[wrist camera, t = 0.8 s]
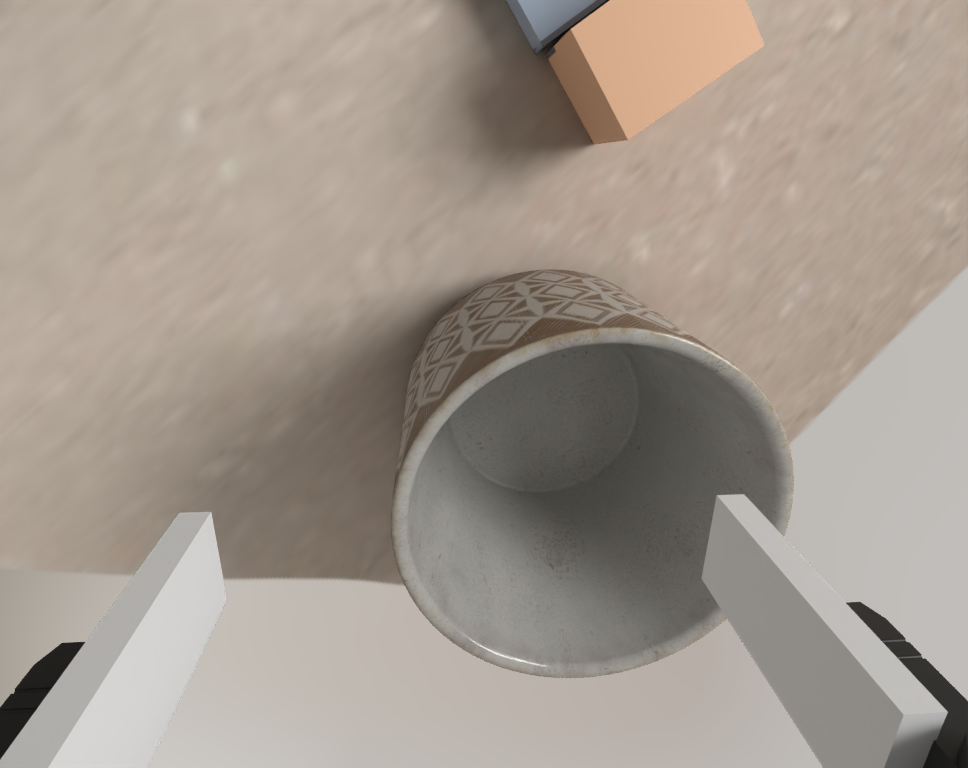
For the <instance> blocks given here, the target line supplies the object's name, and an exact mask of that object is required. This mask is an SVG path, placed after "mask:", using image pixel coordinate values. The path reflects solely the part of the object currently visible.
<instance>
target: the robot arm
mask: <svg viewBox="0 0 968 768" xmlns="http://www.w3.org/2000/svg"><path fill="white" fill-rule="evenodd" d="M701 579H702V580H703V582H704V583H705V585H706V586H707V588H708V590H709V591H710V593H711V594H712V596H713V597H714V599H715V600H716V602H717V604H718V605H719V607H720V608H721V610H722V611H723V613H724V614H725V616H726V618H727V619H728V621H729V622H730V624H731V625H732V627H733V628H734V630H735V631H736V633H737V635H738V636H739V638H740V639H741V641H742V642H743V643H744V645H745V647H746V649H747V650H748V652H749V653H750V655H751V656H752V658H753V659H754V661H755V663H756V664H757V666H758V667H759V669H760V670H761V672H762V673H763V675H764V676H765V678H766V680H767V681H768V683H769V684H770V686H771V687H772V689H773V690H774V692H775V694H776V695H777V697H778V698H779V700H780V701H781V703H782V704H783V706H784V708H785V709H786V711H787V712H788V714H789V715H790V717H791V718H792V720H793V722H794V723H795V724H796V726H797V728H798V729H799V731H800V732H801V734H802V735H803V737H804V739H805V740H806V742H807V743H808V745H809V746H810V748H811V750H812V751H813V752H814V754H815V756H816V757H817V759H818V760H819V762H820V763H821V765H822V767H823V768H968V701H967V700H966V699H965V698H964V697H963V696H962V695H961V694H960V693H959V692H958V691H957V690H956V689H955V688H954V687H953V686H952V685H951V684H950V683H949V682H948V681H947V680H946V679H945V678H944V677H943V676H942V675H941V674H940V673H939V672H938V671H937V670H936V669H935V668H934V667H933V666H932V665H931V664H930V663H929V662H928V661H927V660H926V659H923V658H922V656H921V654H920V653H919V652H918V651H917V650H916V649H915V648H914V647H913V646H912V645H911V644H910V643H909V642H906V641H905V638H904V636H903V635H902V634H900V632H899V631H897V629H896V628H894V626H893V625H892V624H890V622H889V621H888V620H886V618H884V617H882V616H881V615H879V614H878V613H876V612H874V611H873V610H872V609H870V608H869V607H867V606H865V605H864V604H862V603H861V602H851V603H845V602H844V601H843V600H842V598H841V597H840V596H839V595H838V594H837V593H836V592H835V591H834V590H833V589H832V588H831V587H830V586H829V584H828V583H826V581H825V580H824V579H823V578H822V577H821V576H820V575H819V574H818V573H817V572H816V571H815V570H814V568H813V567H812V566H811V565H810V564H809V563H808V562H807V561H806V560H805V559H804V558H803V557H802V556H801V555H800V553H799V552H798V551H797V550H796V549H795V548H794V547H793V546H792V545H791V544H790V543H789V542H788V541H787V540H786V539H785V538H784V536H783V535H782V534H781V533H780V532H779V531H778V530H777V529H776V528H775V527H774V526H773V525H772V524H771V523H770V521H769V520H768V519H767V518H766V517H765V516H764V515H763V514H762V513H761V512H760V511H759V510H758V509H757V508H756V506H755V505H754V504H753V503H752V502H751V501H750V500H749V499H748V498H747V497H746V496H745V495H744V494H736V495H717V496H716V502H715V507H714V512H713V518H712V523H711V529H710V534H709V540H708V545H707V551H706V556H705V562H704V567H703V573H702V578H701ZM226 601H227V597H226V591H225V586H224V580H223V574H222V569H221V563H220V558H219V552H218V547H217V541H216V536H215V530H214V525H213V519H212V514H211V512H187V513H179V514H178V515H177V517H176V518H175V519H174V521H173V522H172V524H171V525H170V526H169V528H168V529H167V530H166V532H165V533H164V535H163V536H162V537H161V539H160V540H159V541H158V543H157V544H156V546H155V547H154V548H153V550H152V551H151V553H150V554H149V555H148V557H147V558H146V559H145V561H144V562H143V564H142V565H141V566H140V568H139V569H138V570H137V572H136V573H135V575H134V576H133V577H132V579H131V580H130V581H129V583H128V584H127V586H126V587H125V588H124V590H123V591H122V593H121V594H120V595H119V597H118V598H117V600H116V601H115V602H114V604H113V605H112V606H111V608H110V609H109V610H108V612H107V613H106V615H105V616H104V618H103V619H102V621H100V623H99V624H98V626H97V627H96V628H95V630H94V631H93V633H92V634H91V635H90V637H89V638H88V639H87V641H86V642H73V643H61V644H60V645H59V646H58V647H56V648H55V649H54V650H52V652H50V653H49V654H47V655H46V656H45V657H43V658H42V659H41V660H40V661H38V662H37V663H36V664H35V665H34V666H33V667H32V668H31V669H30V671H29V672H28V673H27V675H26V676H25V677H24V678H23V679H22V681H21V682H20V684H19V685H18V686H17V687H16V688H15V692H14V694H11V695H10V696H9V697H8V698H7V700H6V701H5V702H4V704H3V705H2V706H1V707H0V768H148V766H149V764H150V762H151V760H152V758H153V756H154V754H155V752H156V749H157V747H158V745H159V743H160V741H161V739H162V737H163V735H164V733H165V730H166V728H167V726H168V724H169V722H170V720H171V718H172V716H173V714H174V711H175V709H176V707H177V705H178V703H179V701H180V699H181V697H182V694H183V692H184V690H185V688H186V686H187V684H188V682H189V679H190V677H191V675H192V673H193V671H194V669H195V667H196V665H197V663H198V661H199V658H200V656H201V654H202V652H203V650H204V648H205V646H206V644H207V641H208V639H209V637H210V635H211V633H212V630H213V628H214V627H215V624H216V622H217V620H218V618H219V616H220V614H221V612H222V609H223V608H224V605H225V603H226Z"/></svg>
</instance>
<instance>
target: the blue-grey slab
mask: <svg viewBox="0 0 968 768" xmlns="http://www.w3.org/2000/svg"><path fill="white" fill-rule="evenodd" d="M506 1H507V3H508V5H509V7H510V9H511V10H512V12H513V14H514V16H515V18H516V20H517V21H518V23H519V25H520V27H521V29H522V31H523V32H524V34H525V36H526V38H527V40H528V41H529V43H530V45H531V47H532V49H533V51H534V52H535V54H538V53H539V52H541V51H542V50H543V49H545V48H546V47H547V46H549V45H550V44H551V43H553V42H554V41H556V40H557V39H558V38H560V37H561V36H562V35H564V34H565V33H566V32H568V31H569V30H570V29H571V28H573V27H574V26H575V25H577V24H578V23H580V22H581V21H582V20H584V19H585V18H586V17H588V16H589V15H590V14H592V13H593V12H595V11H596V10H597V9H599V8H600V7H601V6H603V5H604V4H605V3H607V2H608V1H610V0H506Z"/></svg>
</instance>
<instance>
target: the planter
mask: <svg viewBox="0 0 968 768" xmlns="http://www.w3.org/2000/svg"><path fill="white" fill-rule="evenodd" d="M793 486H794V475H793V463H792V457H791V452H790V447H789V443H788V440H787V436H786V434H785V431H784V428H783V426H782V423H781V421H780V419H779V417H778V415H777V413H776V411H775V410H774V408H773V406H772V405H771V403H770V402H769V400H768V399H767V397H766V396H765V395H764V393H763V392H762V391H761V390H760V388H759V387H758V386H757V385H756V384H755V383H754V382H753V381H752V380H751V379H750V378H749V377H748V376H747V375H746V374H745V373H744V372H743V371H742V370H740V369H739V368H738V367H737V366H735V365H734V364H733V363H731V362H730V361H729V360H727V359H726V358H724V357H723V356H721V355H720V354H718V353H717V352H715V351H714V350H712V349H711V348H709V347H708V346H706V345H705V344H703V343H702V342H700V341H699V340H697V339H696V338H694V337H693V336H691V335H690V334H688V333H687V332H685V331H684V330H682V329H681V328H679V327H678V326H676V325H675V324H673V323H672V322H670V321H669V320H667V319H666V318H664V317H663V316H661V315H660V314H658V313H657V312H655V311H654V310H652V309H651V308H649V307H648V306H646V305H645V304H643V303H642V302H640V301H639V300H637V299H636V298H634V297H633V296H631V295H630V294H628V293H627V292H625V291H624V290H622V289H620V288H619V287H617V286H615V285H613V284H611V283H609V282H607V281H605V280H602V279H600V278H597V277H594V276H591V275H587V274H584V273H579V272H574V271H566V270H536V271H528V272H523V273H518V274H514V275H510V276H507V277H504V278H501V279H498V280H495V281H493V282H491V283H489V284H486V285H484V286H482V287H481V288H479V289H477V290H475V291H473V292H472V293H470V294H469V295H467V296H466V297H464V298H463V299H462V300H460V301H459V302H458V303H456V304H455V305H454V306H453V307H452V308H451V309H450V310H449V311H447V312H446V313H445V314H444V316H443V317H442V318H441V319H440V320H439V321H438V322H437V323H436V325H435V326H434V327H433V328H432V330H431V331H430V333H429V334H428V336H427V337H426V339H425V340H424V342H423V344H422V346H421V347H420V349H419V351H418V354H417V356H416V358H415V361H414V363H413V366H412V369H411V373H410V377H409V381H408V387H407V393H406V401H405V409H404V416H403V424H402V432H401V440H400V447H399V455H398V463H397V471H396V478H395V486H394V494H393V501H392V512H391V535H392V545H393V550H394V555H395V559H396V563H397V566H398V570H399V572H400V575H401V577H402V580H403V583H404V585H405V586H406V588H407V590H408V592H409V594H410V596H411V597H412V599H413V601H414V602H415V604H416V605H417V607H418V608H419V609H420V611H421V612H422V613H423V615H424V616H425V617H426V618H427V619H428V620H429V621H430V623H431V624H432V625H433V626H434V627H435V628H436V629H438V630H439V631H440V632H441V633H442V634H443V635H444V636H445V637H447V638H448V639H449V640H450V641H452V642H453V643H455V644H456V645H458V646H459V647H461V648H462V649H464V650H465V651H467V652H469V653H470V654H472V655H474V656H476V657H478V658H480V659H482V660H484V661H486V662H489V663H491V664H494V665H497V666H499V667H502V668H506V669H509V670H512V671H516V672H520V673H525V674H530V675H536V676H544V677H555V678H556V677H557V678H583V677H595V676H602V675H609V674H613V673H619V672H623V671H627V670H631V669H635V668H638V667H641V666H644V665H647V664H650V663H653V662H655V661H658V660H660V659H663V658H665V657H667V656H669V655H671V654H674V653H676V652H678V651H680V650H682V649H683V648H685V647H687V646H689V645H691V644H692V643H694V642H695V641H697V640H699V639H700V638H702V637H703V636H705V635H706V634H707V633H709V632H710V631H712V630H713V629H714V628H716V627H717V626H718V625H719V624H721V623H722V622H723V621H724V620H726V619H727V618H726V616H725V614H724V613H723V611H722V610H721V608H720V607H719V605H718V604H717V602H716V600H715V599H714V597H713V596H712V594H711V593H710V591H709V590H708V588H707V586H706V585H705V583H704V582H703V580H702V579H701V578H702V573H703V567H704V562H705V556H706V551H707V545H708V540H709V534H710V529H711V523H712V518H713V512H714V507H715V502H716V496H717V495H736V494H744V495H745V496H746V497H747V498H748V499H749V500H750V501H751V502H752V503H753V504H754V505H755V506H756V508H757V509H758V510H759V511H760V512H761V513H762V514H763V515H764V516H765V517H766V518H767V519H768V520H769V521H770V523H771V524H772V525H773V526H774V527H775V528H776V529H777V530H778V531H779V532H780V533H781V534H782V535H783V536H784V535H785V532H786V528H787V525H788V521H789V518H790V512H791V507H792V500H793Z"/></svg>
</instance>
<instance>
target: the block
mask: <svg viewBox="0 0 968 768" xmlns="http://www.w3.org/2000/svg"><path fill="white" fill-rule="evenodd" d="M763 46H764V42H763V40H762V37H761V35H760V33H759V30H758V28H757V25H756V23H755V20H754V18H753V15H752V13H751V10H750V8H749V5H748V3H747V0H610V1H608V2H607V3H605V4H604V5H603V6H601V7H600V8H599V9H597V10H596V11H595V12H593V13H592V14H590V15H589V16H588V17H586V18H585V19H584V20H582V21H581V22H580V23H578V24H577V25H575V26H574V27H573V28H571V29H570V30H569V31H568V32H567V33H566V34H565V35H564V36H563V37H562V38H561V39H560V40H559V41H558V42H557V43H556V44H555V45H554V46H553V47H552V48H551V49H550V50H549V51H548V52H547V53H546V54H545V55H546V57H547V58H548V60H549V62H550V64H551V66H552V68H553V69H554V71H555V73H556V75H557V77H558V79H559V81H560V82H561V84H562V86H563V88H564V90H565V92H566V94H567V95H568V97H569V99H570V101H571V103H572V105H573V106H574V108H575V110H576V112H577V114H578V116H579V118H580V119H581V121H582V123H583V125H584V127H585V129H586V130H587V132H588V134H589V136H590V138H591V140H592V142H593V143H594V144H601V143H608V142H616V141H624V140H629V139H630V138H632V137H633V136H634V135H636V134H637V133H639V132H640V131H642V130H643V129H645V128H646V127H647V126H649V125H650V124H652V123H653V122H655V121H656V120H658V119H659V118H660V117H662V116H663V115H665V114H666V113H668V112H669V111H671V110H672V109H673V108H675V107H676V106H678V105H679V104H681V103H682V102H684V101H685V100H686V99H688V98H689V97H691V96H692V95H694V94H695V93H697V92H698V91H699V90H701V89H702V88H704V87H705V86H707V85H708V84H710V83H711V82H712V81H714V80H715V79H717V78H718V77H720V76H721V75H723V74H724V73H725V72H727V71H728V70H730V69H731V68H733V67H734V66H736V65H737V64H738V63H740V62H741V61H743V60H744V59H746V58H747V57H749V56H750V55H751V54H753V53H754V52H756V51H757V50H759V49H760V48H762V47H763Z"/></svg>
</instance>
